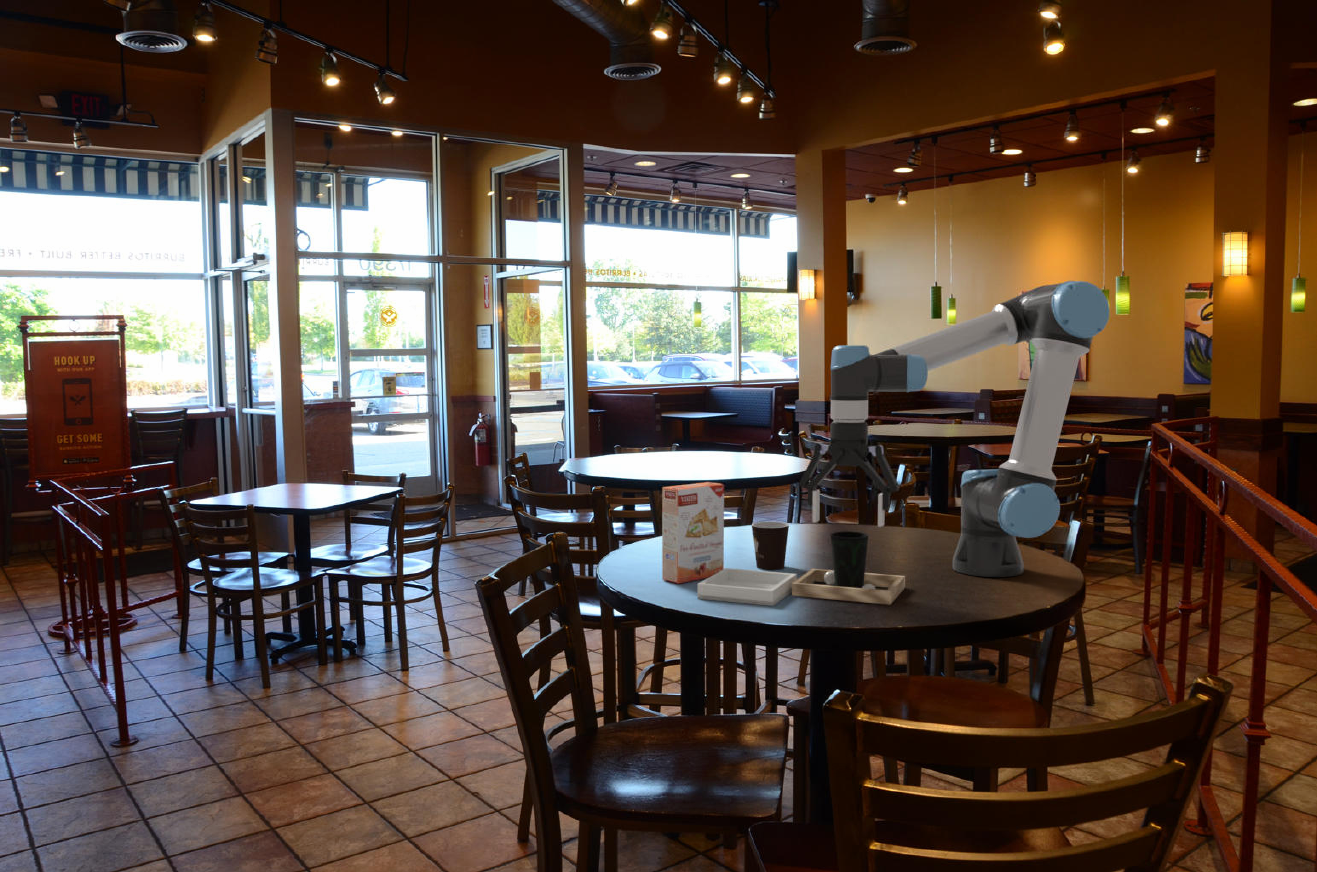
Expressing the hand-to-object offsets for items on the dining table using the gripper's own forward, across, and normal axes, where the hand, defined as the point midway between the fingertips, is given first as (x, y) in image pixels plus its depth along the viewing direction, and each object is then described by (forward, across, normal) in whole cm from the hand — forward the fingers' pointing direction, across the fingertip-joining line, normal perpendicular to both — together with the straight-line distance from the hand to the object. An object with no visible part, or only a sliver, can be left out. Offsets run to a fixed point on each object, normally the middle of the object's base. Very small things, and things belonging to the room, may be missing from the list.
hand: (848, 523), depth 196 cm
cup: (+14, 0, 0) cm, 15 cm away
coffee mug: (+15, +23, -18) cm, 32 cm away
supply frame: (+14, 0, 0) cm, 14 cm away
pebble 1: (+14, +5, -4) cm, 16 cm away
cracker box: (+15, +35, 0) cm, 38 cm away
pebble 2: (+14, -5, +4) cm, 16 cm away
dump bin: (+14, +19, +9) cm, 25 cm away
